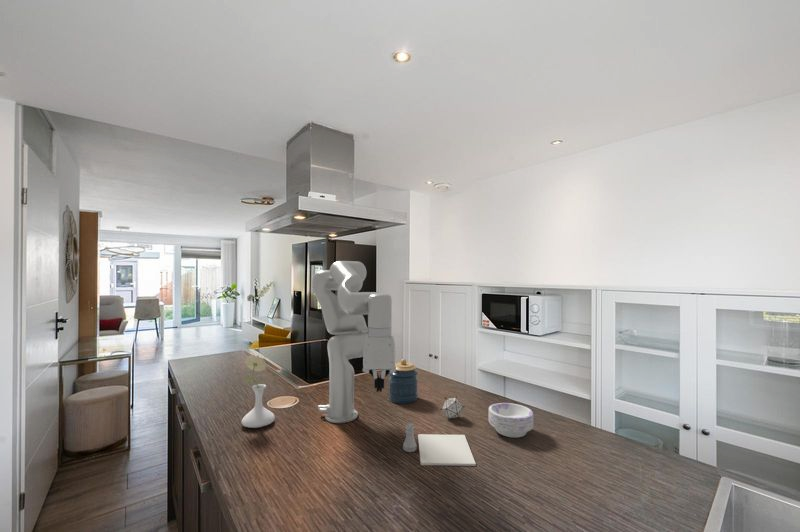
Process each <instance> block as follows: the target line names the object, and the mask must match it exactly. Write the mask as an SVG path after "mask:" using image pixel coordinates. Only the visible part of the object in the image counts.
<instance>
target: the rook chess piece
mask: <svg viewBox="0 0 800 532" xmlns="http://www.w3.org/2000/svg"><path fill="white" fill-rule="evenodd" d="M404 428H405V439H404V442H403V445H402V449H403V451H404V452H406V453H414V452H416V451H417V449H418V447H417V446H418V445H417V443H416V440H415V435H414V434H415V428H416V426H415V423H414V422H406V423H405V426H404Z"/></svg>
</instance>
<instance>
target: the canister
mask: <svg viewBox="0 0 800 532" xmlns="http://www.w3.org/2000/svg"><path fill="white" fill-rule="evenodd" d="M395 366H396V372H393V373H389V374H388V375H389V378H388V385H389V386H388V399H389V401H390V402H393V403H395V404H401V405H402V404H405V405H406V404H412V403H415V402H416V401H417V400H418V396H419V395H418V394H419V393H418V382H419V379H418V377H417V375H418V373H419V372H418V371H417V367H416V365H415V364H414V363H412V362H410V361H409V362H407V359H405V358H402V359H400V361H397V362H395Z"/></svg>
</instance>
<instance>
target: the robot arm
mask: <svg viewBox="0 0 800 532" xmlns="http://www.w3.org/2000/svg"><path fill="white" fill-rule="evenodd" d="M366 268H367V267H366V266H365V265H364V263H363V262H361V261H358V260H357V261H354V260H353V261H351V260H338V261H335V262H333V263H332V264H331V265H330V267H329V269H326V270H319V271H316V273H314V274H313V277H312V281H311V282H312V290H313V293H314V296H315V298H316V299H317V301H318V303H319V306H320V308H321V312H322V317H323V321H324V324H325V328H326V331H327V332H328V333H329V334H330V335H334V336H332V337H330V338H329V340H328V341H327V345H326V346H327V347H326V348H327V356H328V363H329V364H328V365H329V366H328V367H329V373H328V374H329V375H328V377H329V380H328V381H329V382H328V384H329V386H328V388H329V389H328V391H329V393H328V395H329V396H328V397H329V398H328V404H326V405H325V404H324V405H323V404H319V405H318V406H317V411H319V413H325V414H324V419H325V420H326V421H327V422H329V423H333V424H345V423H346V422H347V423H350V422H353V421H355V420H356V419H357V418H358V416H359V414H358V413H359V412H358V411H357V410H356V409H355V369H354V367H353V365H352V364H351V363H350V361H349V360H352V359H357V358H362V372H364V373H367V374H369V375H370V376H372V377H373V379H374V389H376V392H377V393H378V392H382V391H383V389H385V378H386V377H387V376H388V375H390V374H389V373H393V372H396V366H395V363H396V345H395V344H396V343H395V338H394V336H393V335H392V315H393V312H392V309H393V307H392V301H393V299H392V296H391V295H390V294H388V293H381V292H377V291H376V292H375V291H371V292H370V291H366V292H365V291H362V292H359V291H361V289H362V287H363V284H364V281H365V279H366V277H367V269H366ZM333 291H337V292H336V293H337V294H336V293H334V292H333ZM365 315H367V323H366V319H365V317H364V316H365ZM378 371H381V373H380V375H379V374H378V373H379V372H378Z"/></svg>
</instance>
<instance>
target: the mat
mask: <svg viewBox="0 0 800 532" xmlns="http://www.w3.org/2000/svg"><path fill="white" fill-rule="evenodd" d="M417 440H418V449H419V461H420V466H455V467H456V466H460V467H461V466H464V467H465V466H466V467H473V466H474V467H476V464H477V463H476V461H475V458H474V455H473V453H472V451H471V448H470V445H469V443H468V440H467V438H466V435H465V434H437V433H436V434H432V433H431V434H430V433H429V434H426V433H421V434H417Z"/></svg>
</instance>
